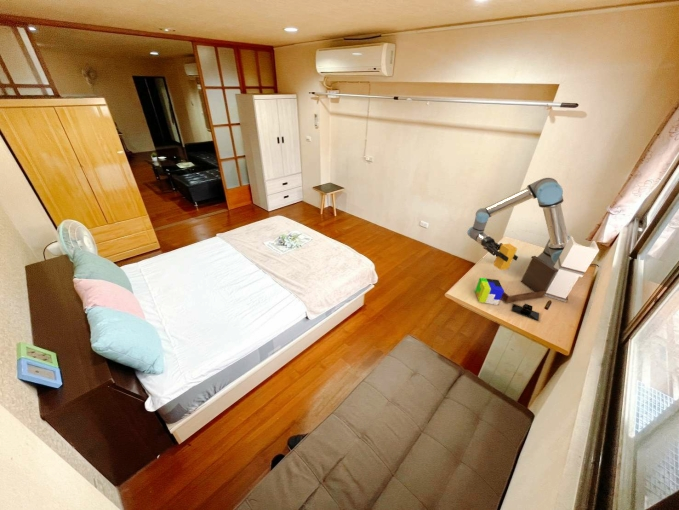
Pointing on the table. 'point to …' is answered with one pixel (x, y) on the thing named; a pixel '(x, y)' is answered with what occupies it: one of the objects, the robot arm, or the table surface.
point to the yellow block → (507, 251)
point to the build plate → (526, 311)
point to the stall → (534, 280)
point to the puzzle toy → (489, 291)
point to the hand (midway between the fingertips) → (512, 259)
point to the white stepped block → (570, 268)
